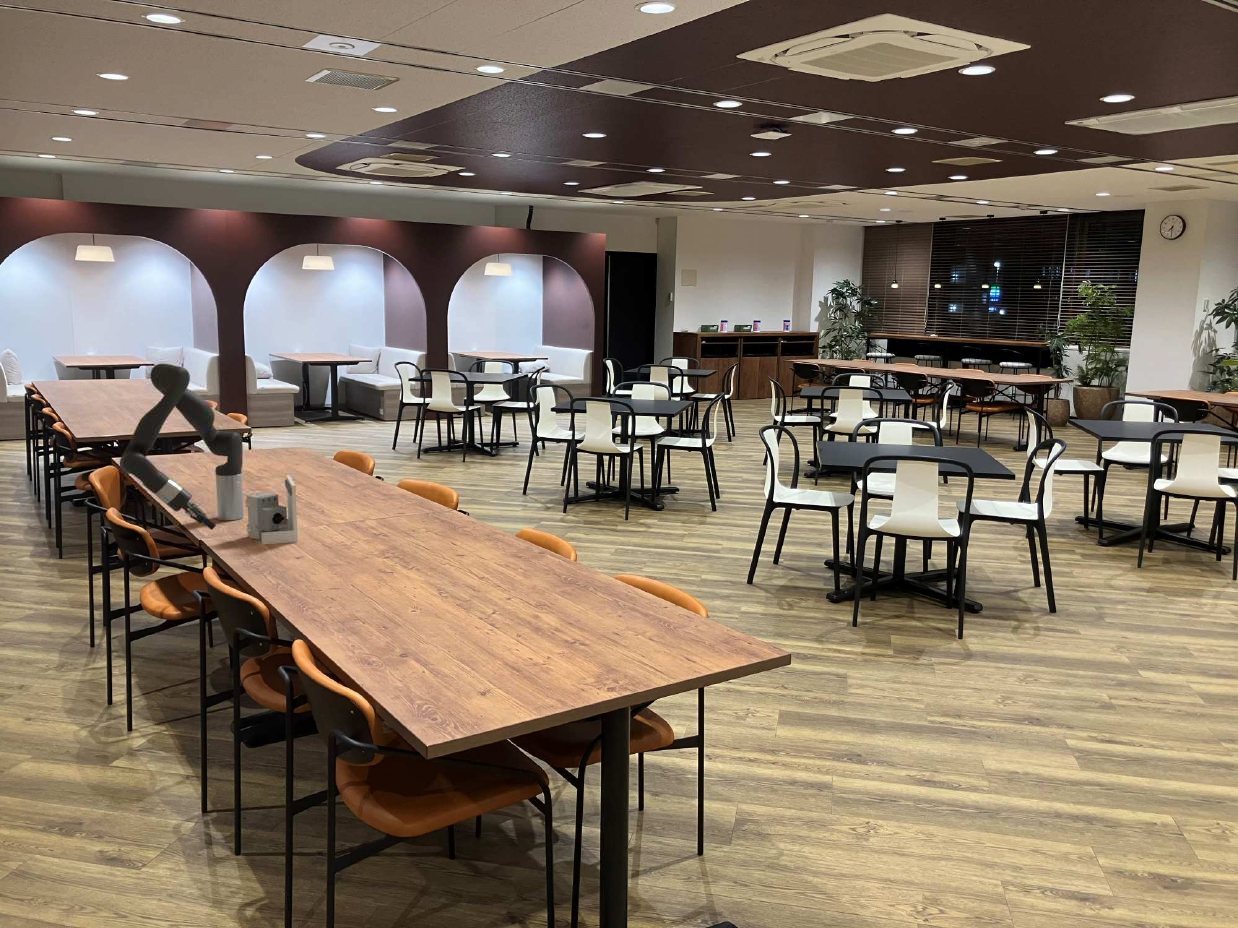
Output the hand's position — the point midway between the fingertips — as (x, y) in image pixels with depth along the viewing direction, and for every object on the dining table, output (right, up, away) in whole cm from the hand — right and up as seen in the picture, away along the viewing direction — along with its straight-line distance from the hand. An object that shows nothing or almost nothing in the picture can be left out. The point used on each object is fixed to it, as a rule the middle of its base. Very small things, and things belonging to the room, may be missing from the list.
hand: (213, 527), depth 340 cm
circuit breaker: (+16, -4, +8) cm, 19 cm away
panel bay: (+19, -4, +9) cm, 21 cm away
